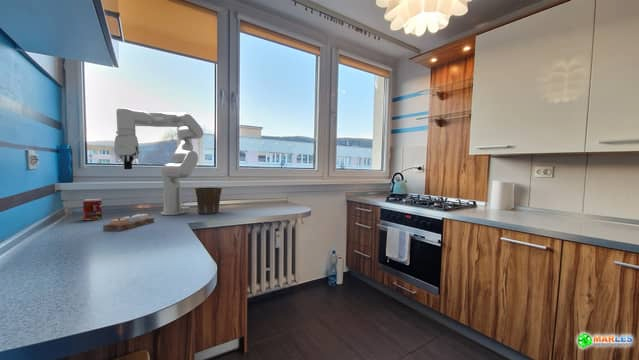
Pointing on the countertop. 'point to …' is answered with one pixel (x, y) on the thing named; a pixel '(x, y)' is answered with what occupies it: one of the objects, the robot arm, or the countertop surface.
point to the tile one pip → (142, 216)
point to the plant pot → (208, 200)
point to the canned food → (92, 208)
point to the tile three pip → (118, 221)
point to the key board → (127, 225)
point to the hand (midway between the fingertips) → (128, 169)
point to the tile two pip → (132, 218)
